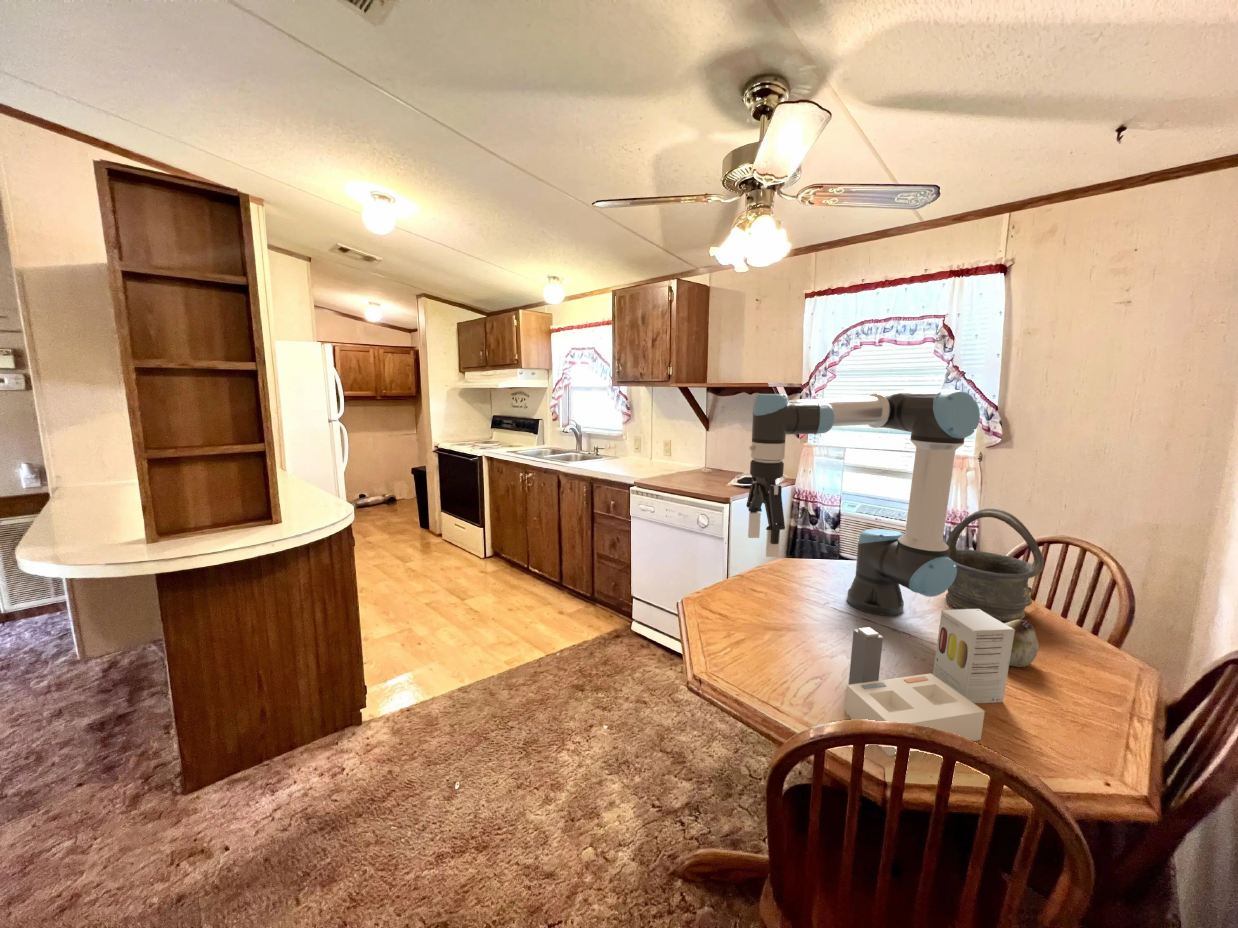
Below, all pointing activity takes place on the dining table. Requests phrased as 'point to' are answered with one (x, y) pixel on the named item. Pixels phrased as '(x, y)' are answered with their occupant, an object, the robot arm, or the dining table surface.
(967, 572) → the clay pot
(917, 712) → the socket block
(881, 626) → the dining table surface
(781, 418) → the robot arm
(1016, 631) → the fruit
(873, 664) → the plug
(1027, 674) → the dining table surface
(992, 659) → the supplement box
